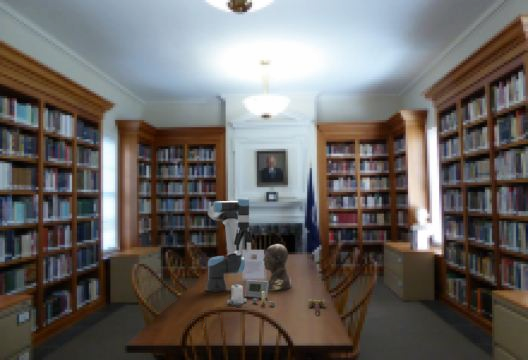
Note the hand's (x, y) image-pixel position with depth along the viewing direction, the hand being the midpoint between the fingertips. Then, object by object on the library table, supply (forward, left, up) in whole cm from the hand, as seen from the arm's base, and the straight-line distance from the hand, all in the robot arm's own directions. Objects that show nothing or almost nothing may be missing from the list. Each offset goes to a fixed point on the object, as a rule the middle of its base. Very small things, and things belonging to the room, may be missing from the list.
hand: (243, 253), depth 258 cm
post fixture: (+20, -7, -29) cm, 36 cm away
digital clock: (+6, +6, -29) cm, 31 cm away
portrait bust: (0, +44, -29) cm, 53 cm away
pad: (+4, -13, -29) cm, 32 cm away
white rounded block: (+4, -13, -28) cm, 31 cm away
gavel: (+54, -2, -30) cm, 61 cm away
